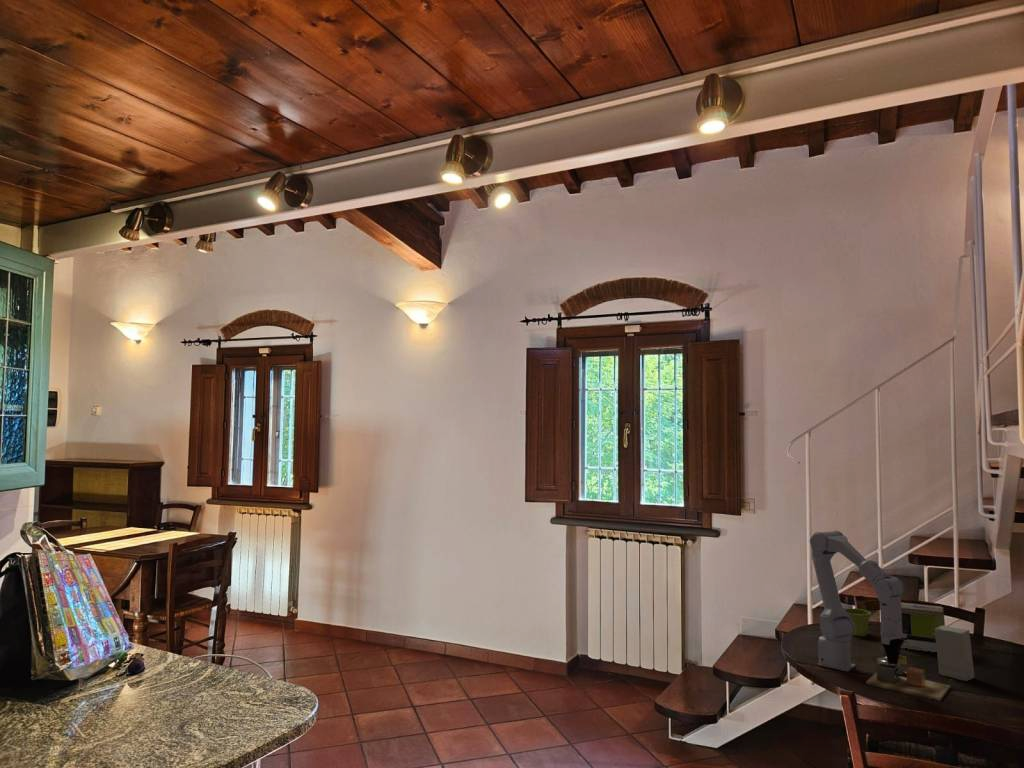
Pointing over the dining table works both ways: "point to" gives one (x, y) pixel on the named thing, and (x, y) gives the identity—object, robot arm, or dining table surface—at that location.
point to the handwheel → (885, 662)
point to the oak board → (913, 687)
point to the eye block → (887, 673)
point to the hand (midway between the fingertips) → (893, 663)
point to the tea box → (921, 626)
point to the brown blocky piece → (913, 676)
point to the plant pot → (859, 620)
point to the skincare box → (954, 652)
